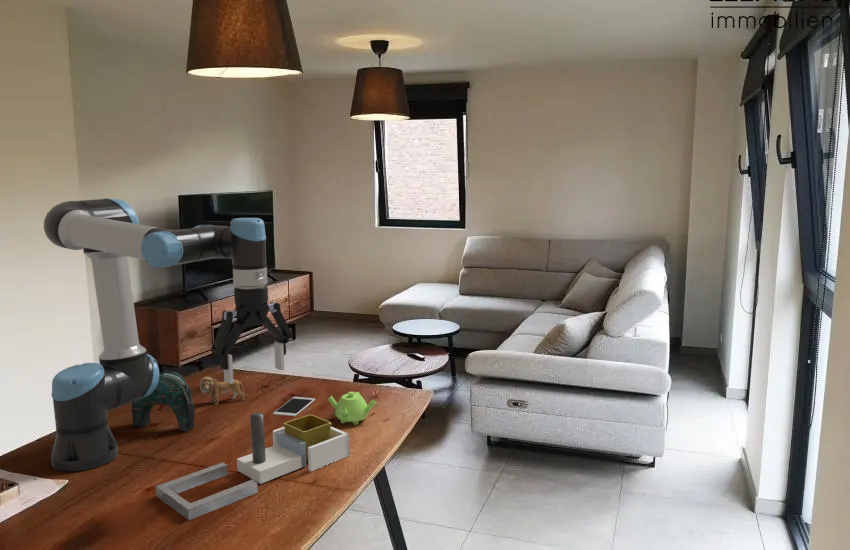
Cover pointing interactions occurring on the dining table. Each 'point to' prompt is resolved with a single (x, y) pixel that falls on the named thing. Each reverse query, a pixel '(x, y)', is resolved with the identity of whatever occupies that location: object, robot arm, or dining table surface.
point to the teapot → (351, 407)
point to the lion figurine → (220, 388)
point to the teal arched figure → (167, 401)
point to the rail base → (205, 505)
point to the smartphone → (294, 406)
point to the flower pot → (309, 430)
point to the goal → (325, 448)
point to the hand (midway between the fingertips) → (255, 375)
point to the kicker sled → (271, 454)
